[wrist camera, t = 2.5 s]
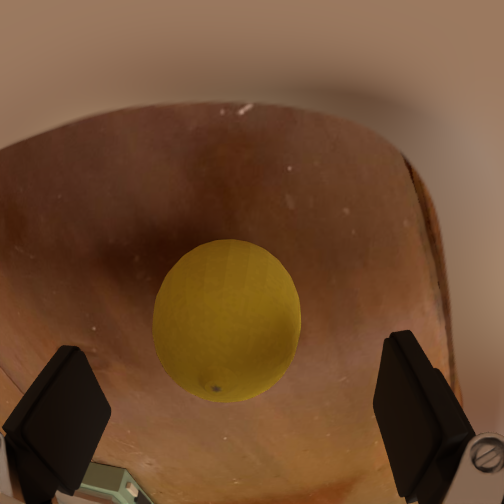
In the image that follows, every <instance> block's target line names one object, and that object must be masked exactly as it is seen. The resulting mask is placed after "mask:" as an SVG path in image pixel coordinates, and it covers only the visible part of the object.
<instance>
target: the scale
mask: <svg viewBox="0 0 504 504" xmlns="http://www.w3.org/2000/svg"><path fill="white" fill-rule="evenodd" d="M80 487H82V488H85V489H89V490H93V491H97V492H101V493H105V494H109V495H113V496H114V497H115V498H116V499H117V500H118V501H119V502H120V503H121V504H154V503H153V502H152V501H151V500H150V499H149V497H148V496H147V495H146V494H145V493H144V491H143V490H142V489H141V488H140V487H139V485H138V484H137V483H136V482H135V480H134V479H133V478H132V477H131V475H130V474H129V473H128V472H127V470H126V469H123V468H117V467H112V466H106V465H101V464H97V463H92V462H90V464H89V466H88V469H87V471H86V473H85V476H84V478H83V481H82V483H81V485H80Z"/></svg>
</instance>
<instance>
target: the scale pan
mask: <svg viewBox="0 0 504 504" xmlns="http://www.w3.org/2000/svg"><path fill="white" fill-rule="evenodd" d="M55 495H56V498H57V501H58V503H59V504H121V503H120V502H119V501H118V500H117V499H116V498H115V497H114V496H113V495H109V494H105V493H101V492H97V491H93V490H89V489H85V488H82V487H79V489H78V490H75V492H74V495H73V497H72V496H69V495H66V494H63V493H60V492H59V491H58V490H57V491H56V493H55Z"/></svg>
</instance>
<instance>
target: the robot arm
mask: <svg viewBox="0 0 504 504" xmlns="http://www.w3.org/2000/svg"><path fill="white" fill-rule="evenodd" d="M373 409H374V413H375V416H376V419H377V422H378V425H379V429H380V432H381V435H382V438H383V442H384V445H385V448H386V452H387V455H388V459H389V462H390V466H391V469H392V473H393V476H394V480H395V484H396V487H397V491H398V494H399V496H400V497H405V499H406V503H407V504H409V503H413V502H416V501H418V503H419V504H504V436H502V435H500V434H498V433H493V432H485V433H481V434H478V435H476V434H475V432H474V430H473V428H472V426H471V424H470V422H469V421H468V419H467V417H466V415H465V413H464V411H463V409H462V408H461V406H460V404H459V402H458V400H457V399H456V397H455V395H454V393H453V392H452V390H451V388H450V386H449V385H448V383H447V381H446V379H445V378H444V376H443V374H442V373H441V372H440V370H439V369H437V368H433V366H432V365H431V363H430V361H429V360H428V358H427V356H426V355H425V353H424V351H423V350H422V348H421V346H420V345H419V343H418V341H417V340H416V338H415V336H414V335H413V333H412V332H411V331H410V330H404V331H398V332H392V333H391V334H390V336H389V338H386V339H385V340H384V344H383V350H382V356H381V362H380V368H379V373H378V379H377V384H376V389H375V394H374V398H373ZM110 416H111V407H110V405H109V403H108V401H107V399H106V397H105V395H104V393H103V391H102V390H101V388H100V386H99V384H98V381H97V379H96V377H95V375H94V373H93V371H92V369H91V367H90V365H89V362H88V360H87V358H86V356H85V354H84V352H83V351H81V350H80V348H79V347H77V346H66V345H63V346H61V347H60V348H59V349H58V350H57V352H56V353H55V354H54V356H53V357H52V358H51V359H50V361H49V362H48V363H47V365H46V366H45V367H44V369H43V370H42V371H41V373H40V374H39V375H38V377H37V378H36V379H35V381H34V382H33V384H32V385H31V386H30V388H29V389H28V390H27V392H26V393H25V395H24V396H23V397H22V399H21V400H20V402H19V403H18V404H17V406H16V407H15V409H14V410H13V412H12V413H11V415H10V416H9V418H8V419H7V420H6V422H5V423H4V425H3V426H2V428H3V430H4V431H5V432H6V436H5V437H4V436H3V434H2V433H1V432H0V504H59V503H58V501H57V498H56V495H55V493H56V491H57V490H58V491H59V492H60V493H63V494H66V495H69V496H72V497H73V495H74V492H75V490H78V489H79V487H80V485H81V483H82V481H83V478H84V476H85V473H86V471H87V469H88V466H89V464H90V461H91V459H92V457H93V454H94V452H95V450H96V448H97V445H98V443H99V441H100V438H101V436H102V434H103V432H104V430H105V427H106V425H107V423H108V421H109V418H110Z"/></svg>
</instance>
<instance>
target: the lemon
mask: <svg viewBox="0 0 504 504" xmlns="http://www.w3.org/2000/svg"><path fill="white" fill-rule="evenodd" d="M300 330H301V313H300V301H299V297H298V294H297V291H296V288H295V286H294V283H293V281H292V278H291V276H290V275H289V273H288V272H287V271H286V269H285V268H284V267H283V265H282V264H281V263H280V261H279V260H278V259H277V258H275V257H274V256H273V255H271V254H270V253H269V252H268V251H266V250H265V249H264V248H262V247H259V246H257V245H255V244H253V243H250V242H247V241H241V240H235V239H225V240H215V241H212V242H208V243H205V244H202V245H199V246H198V247H196V248H194V249H193V250H191V251H190V252H188V253H187V254H185V255H184V256H182V257H181V259H180V260H179V261H178V262H177V263H176V264H175V265H174V266H173V268H172V269H171V270H170V271H169V272H168V274H167V275H166V277H165V279H164V281H163V283H162V285H161V288H160V290H159V292H158V294H157V297H156V300H155V306H154V314H153V325H152V334H153V339H154V344H155V349H156V353H157V356H158V358H159V360H160V362H161V364H162V366H163V367H164V369H165V371H166V372H167V374H168V375H169V376H170V377H171V378H172V379H173V380H174V381H175V382H176V383H177V384H178V385H179V386H180V387H182V388H183V389H185V390H186V391H187V392H189V393H191V394H193V395H195V396H198V397H200V398H202V399H206V400H209V401H213V402H225V403H227V402H238V401H243V400H246V399H250V398H253V397H255V396H257V395H259V394H261V393H262V392H264V391H266V390H268V389H269V388H270V387H272V386H273V385H274V384H275V383H276V382H277V381H278V380H279V379H280V378H281V377H282V376H283V375H284V373H285V371H286V370H287V368H288V367H289V365H290V363H291V362H292V360H293V358H294V355H295V352H296V348H297V344H298V340H299V335H300Z"/></svg>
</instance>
